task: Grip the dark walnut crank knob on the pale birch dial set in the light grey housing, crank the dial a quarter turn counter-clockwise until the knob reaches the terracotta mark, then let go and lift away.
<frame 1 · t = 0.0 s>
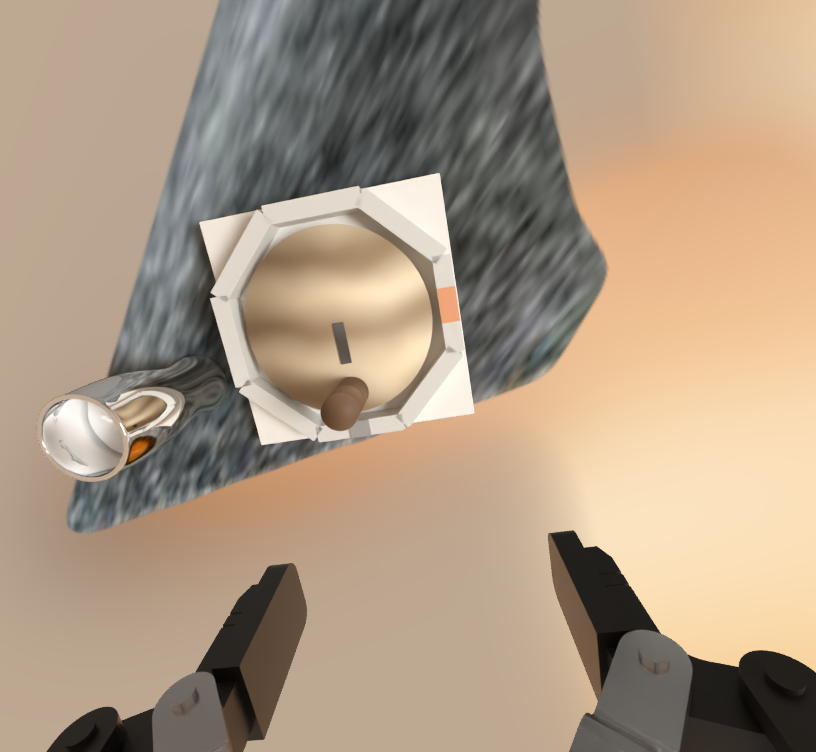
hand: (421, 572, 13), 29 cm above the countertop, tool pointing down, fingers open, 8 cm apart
dial: (332, 326, 34), point 6 cm above the countertop, hinge at 0.0°
beer glass: (201, 382, 43), on the countertop
dial housing: (346, 319, 40), on the countertop
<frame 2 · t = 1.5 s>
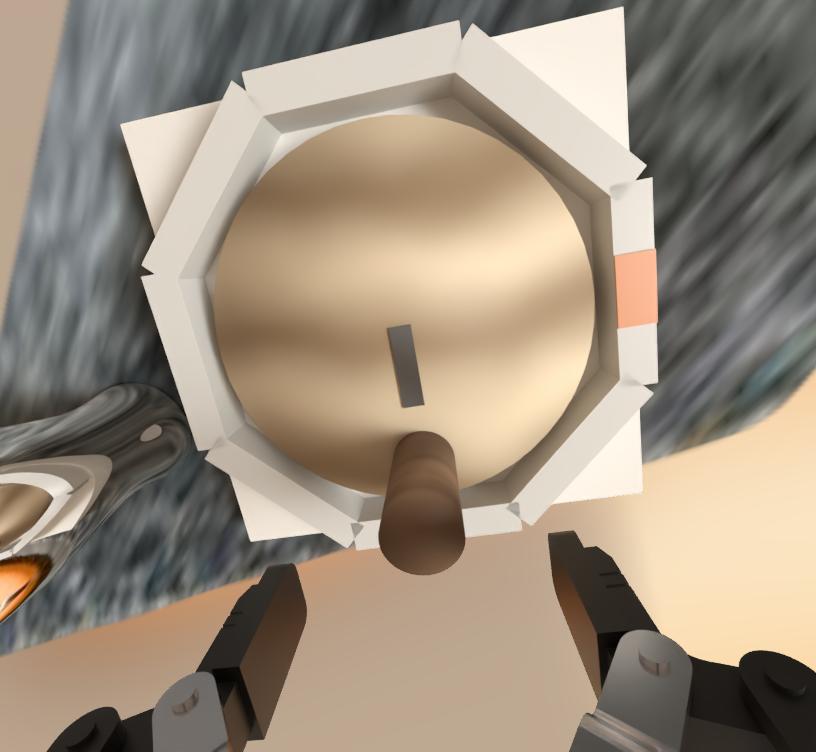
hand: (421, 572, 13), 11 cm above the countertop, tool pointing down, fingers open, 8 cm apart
dial: (396, 336, 16), point 6 cm above the countertop, hinge at 0.0°
beer glass: (144, 429, 25), on the countertop
dial housing: (405, 318, 22), on the countertop
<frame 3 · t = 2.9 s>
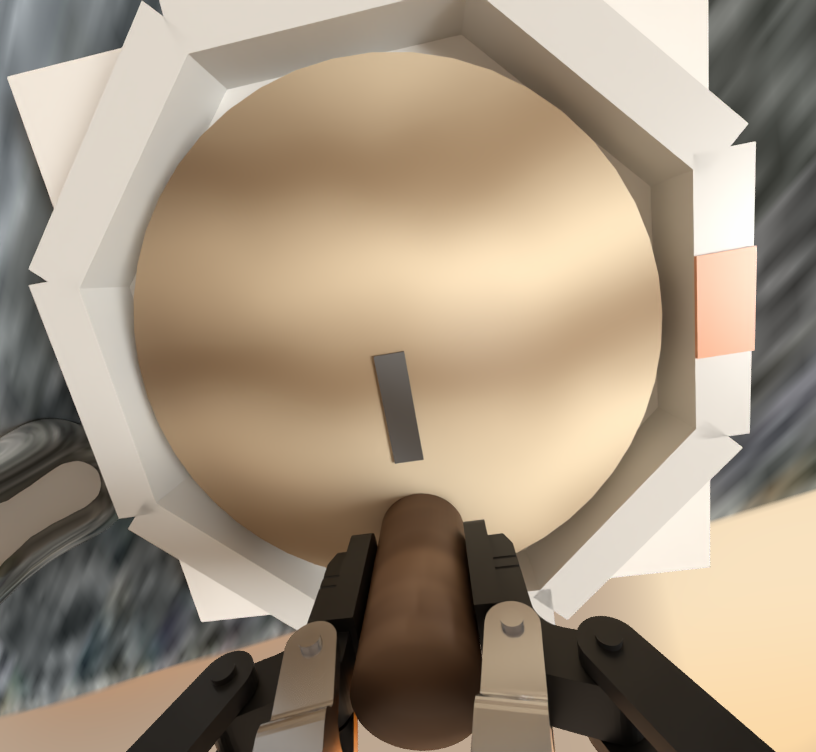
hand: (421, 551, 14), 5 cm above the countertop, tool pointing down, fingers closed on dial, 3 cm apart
dial: (381, 372, 11), point 6 cm above the countertop, hinge at 0.0°, touching gripper
beer glass: (71, 475, 20), on the countertop
dial housing: (398, 338, 17), on the countertop
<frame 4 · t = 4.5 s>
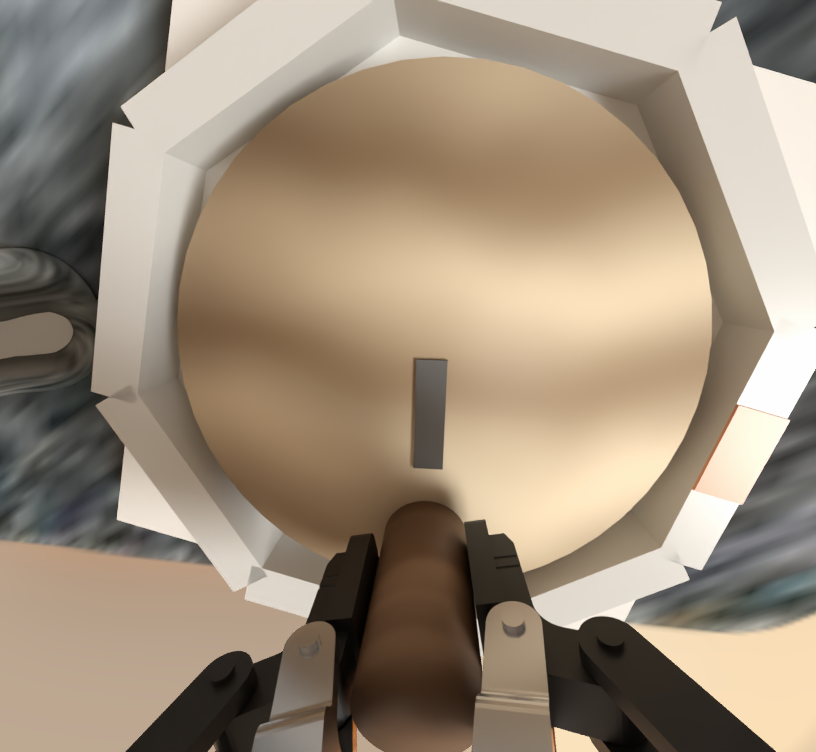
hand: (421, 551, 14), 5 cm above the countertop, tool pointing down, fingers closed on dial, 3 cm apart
dial: (430, 380, 11), point 6 cm above the countertop, hinge at 14.6°, touching gripper
beer glass: (44, 320, 18), on the countertop
dial housing: (433, 343, 17), on the countertop
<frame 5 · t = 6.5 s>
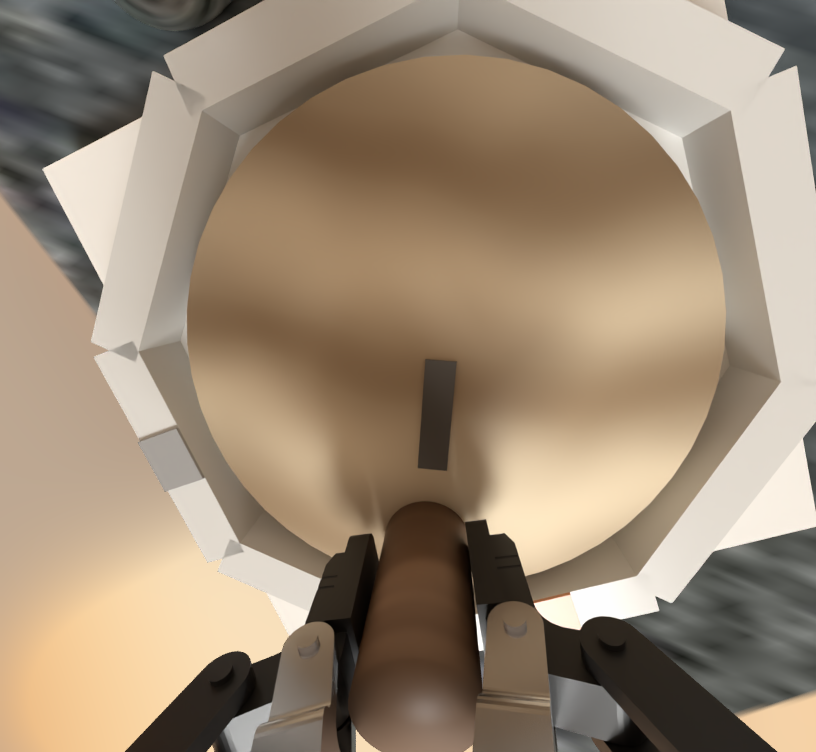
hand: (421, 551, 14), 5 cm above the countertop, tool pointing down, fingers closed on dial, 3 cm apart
dial: (440, 381, 11), point 6 cm above the countertop, hinge at 65.9°, touching gripper
dial housing: (441, 343, 17), on the countertop
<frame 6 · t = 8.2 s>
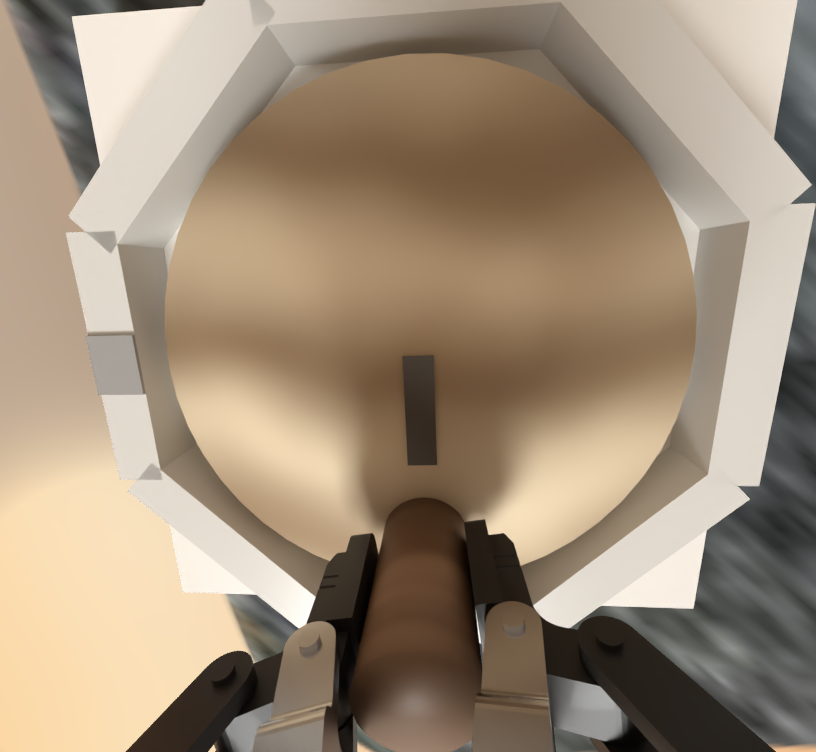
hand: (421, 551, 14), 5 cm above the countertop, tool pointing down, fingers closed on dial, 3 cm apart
dial: (414, 375, 11), point 6 cm above the countertop, hinge at 91.0°, touching gripper
dial housing: (422, 340, 17), on the countertop
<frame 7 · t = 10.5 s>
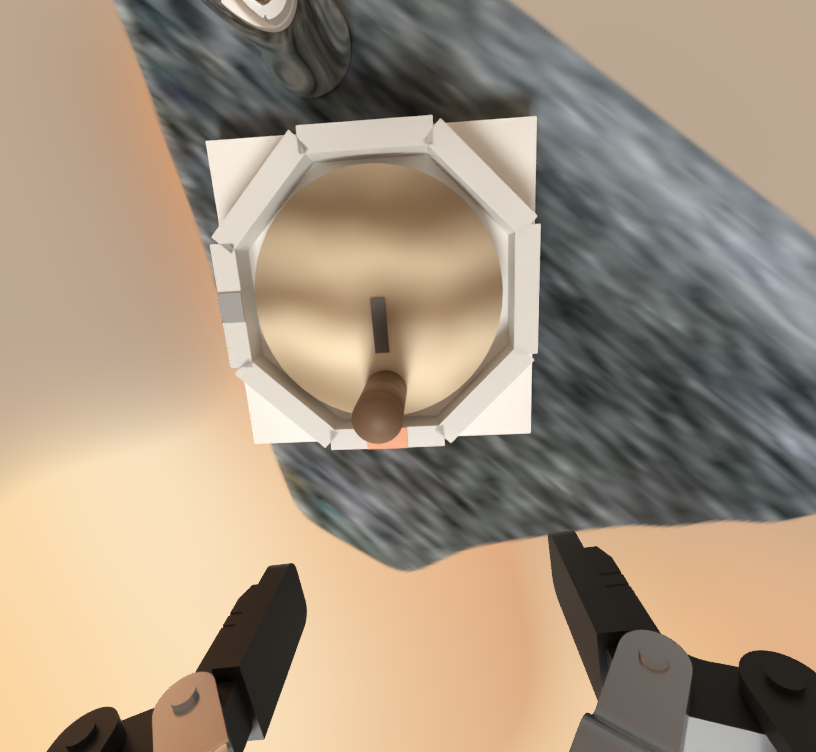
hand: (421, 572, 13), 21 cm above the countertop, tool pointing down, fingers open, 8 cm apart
dial: (373, 302, 26), point 6 cm above the countertop, hinge at 91.3°
beer glass: (307, 49, 28), on the countertop
dial housing: (382, 296, 31), on the countertop
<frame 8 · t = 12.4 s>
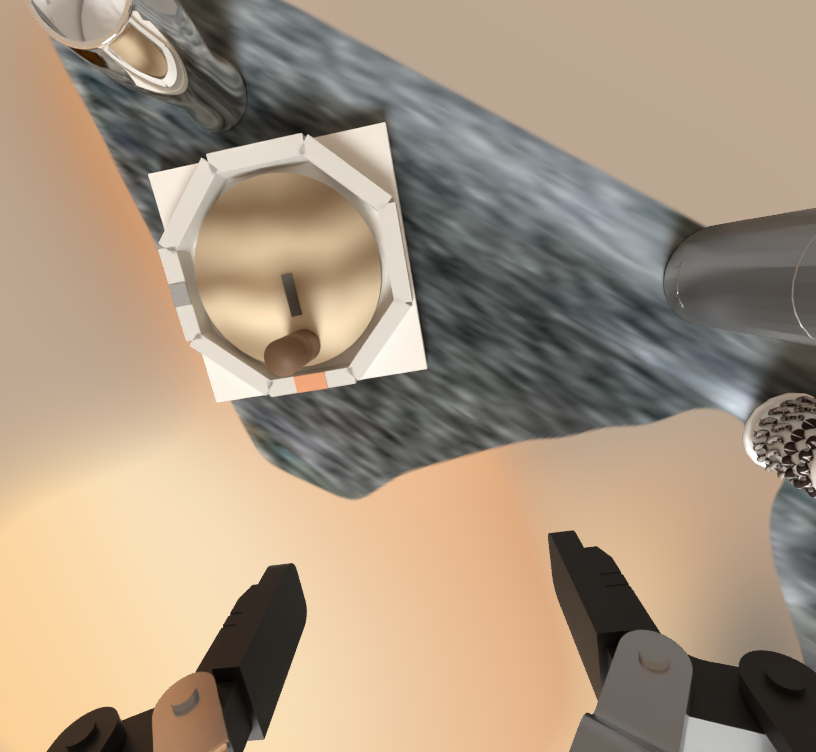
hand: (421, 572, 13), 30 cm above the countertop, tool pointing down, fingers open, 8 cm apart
dial: (277, 275, 34), point 6 cm above the countertop, hinge at 91.3°
beer glass: (215, 96, 37), on the countertop
dial housing: (299, 275, 40), on the countertop
decorative candle: (783, 431, 42), on the countertop
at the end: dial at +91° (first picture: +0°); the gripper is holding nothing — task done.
